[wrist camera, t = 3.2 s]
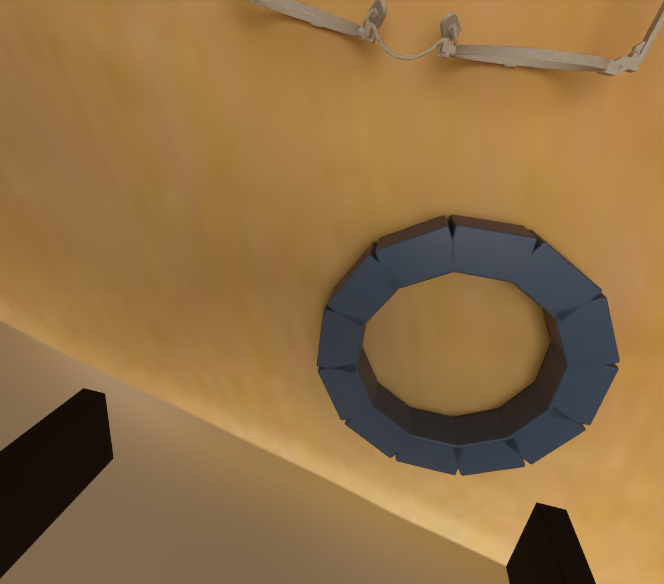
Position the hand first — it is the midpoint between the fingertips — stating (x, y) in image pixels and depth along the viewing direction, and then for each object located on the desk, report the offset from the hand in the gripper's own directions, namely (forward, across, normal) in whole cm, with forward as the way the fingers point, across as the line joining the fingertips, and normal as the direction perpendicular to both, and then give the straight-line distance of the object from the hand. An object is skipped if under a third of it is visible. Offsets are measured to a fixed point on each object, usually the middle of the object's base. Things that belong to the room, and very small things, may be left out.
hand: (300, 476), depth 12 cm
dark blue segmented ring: (+10, +5, 0) cm, 11 cm away
